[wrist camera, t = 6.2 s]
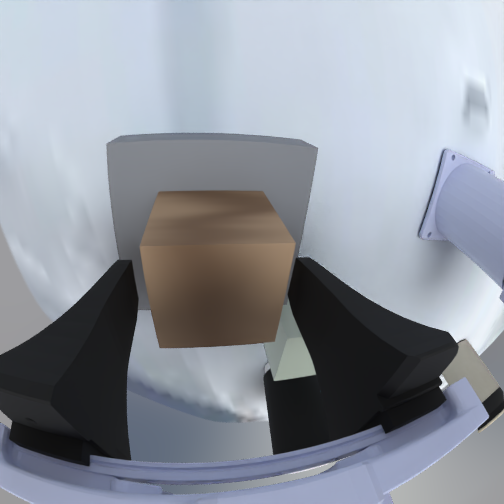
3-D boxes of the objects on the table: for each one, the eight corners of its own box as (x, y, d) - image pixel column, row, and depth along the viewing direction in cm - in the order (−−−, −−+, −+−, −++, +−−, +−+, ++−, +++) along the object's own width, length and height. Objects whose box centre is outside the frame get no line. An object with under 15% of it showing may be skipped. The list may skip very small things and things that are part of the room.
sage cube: (329, 283, 21) (356, 329, 17) (314, 326, 23) (334, 370, 19) (268, 286, 20) (287, 338, 16) (260, 332, 22) (273, 381, 18)
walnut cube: (262, 191, 13) (295, 243, 9) (253, 274, 16) (274, 341, 12) (158, 191, 12) (139, 246, 8) (165, 277, 15) (159, 348, 11)
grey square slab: (297, 138, 15) (318, 148, 12) (275, 277, 20) (286, 304, 18) (123, 134, 13) (106, 143, 10) (137, 280, 18) (130, 309, 15)
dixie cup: (236, 382, 26) (256, 478, 17) (271, 335, 23) (309, 452, 14) (298, 385, 29) (326, 466, 20) (338, 343, 26) (381, 435, 17)
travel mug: (441, 353, 37) (487, 427, 22) (470, 332, 36) (517, 398, 22) (433, 372, 41) (471, 438, 26) (460, 352, 41) (499, 413, 26)
